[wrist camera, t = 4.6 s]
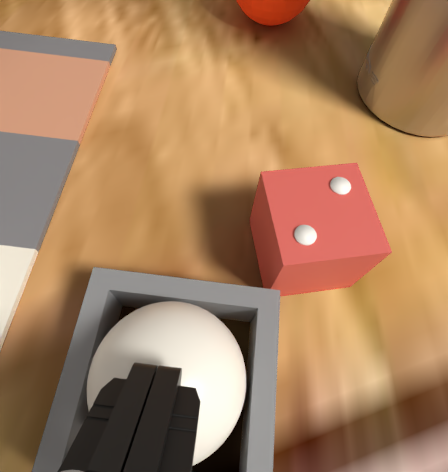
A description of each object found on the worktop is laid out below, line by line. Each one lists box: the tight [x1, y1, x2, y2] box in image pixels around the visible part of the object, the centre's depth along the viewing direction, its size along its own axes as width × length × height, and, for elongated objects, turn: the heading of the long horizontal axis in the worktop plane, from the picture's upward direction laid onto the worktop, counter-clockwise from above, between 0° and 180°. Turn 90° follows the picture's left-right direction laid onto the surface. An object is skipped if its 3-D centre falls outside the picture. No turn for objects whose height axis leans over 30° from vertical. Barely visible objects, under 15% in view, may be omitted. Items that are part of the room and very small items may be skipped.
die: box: [249, 163, 392, 296], centre depth 18 cm, size 5×5×5 cm
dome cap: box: [87, 301, 246, 466], centre depth 14 cm, size 6×6×6 cm
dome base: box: [32, 267, 280, 472], centre depth 16 cm, size 9×9×3 cm
